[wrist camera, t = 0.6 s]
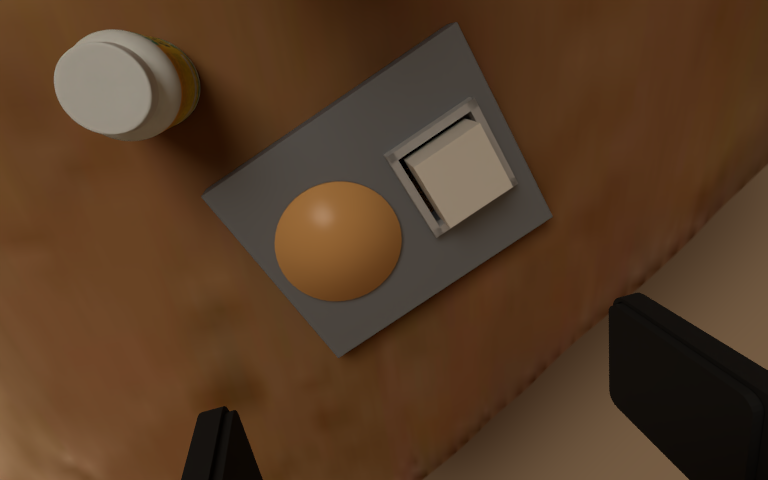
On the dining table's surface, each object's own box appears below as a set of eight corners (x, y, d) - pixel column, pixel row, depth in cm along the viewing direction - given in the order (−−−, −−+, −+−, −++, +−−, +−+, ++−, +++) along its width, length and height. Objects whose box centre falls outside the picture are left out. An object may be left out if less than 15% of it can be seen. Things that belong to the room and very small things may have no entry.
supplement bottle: (125, 131, 30) (58, 158, 21) (98, 41, 28) (12, 30, 19) (211, 121, 31) (180, 142, 22) (191, 33, 29) (148, 18, 20)
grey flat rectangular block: (446, 24, 32) (462, 20, 29) (539, 209, 38) (559, 220, 35) (205, 189, 32) (198, 200, 30) (336, 344, 39) (339, 365, 36)
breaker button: (464, 118, 32) (479, 122, 29) (496, 177, 34) (513, 186, 31) (403, 159, 32) (413, 167, 29) (438, 216, 34) (450, 228, 31)
